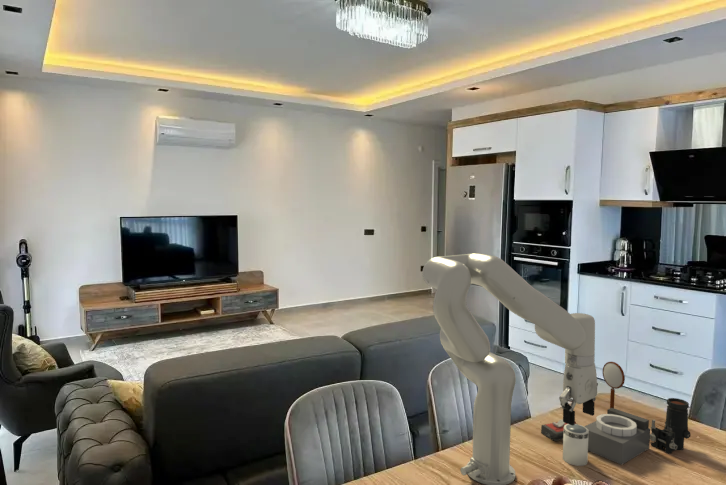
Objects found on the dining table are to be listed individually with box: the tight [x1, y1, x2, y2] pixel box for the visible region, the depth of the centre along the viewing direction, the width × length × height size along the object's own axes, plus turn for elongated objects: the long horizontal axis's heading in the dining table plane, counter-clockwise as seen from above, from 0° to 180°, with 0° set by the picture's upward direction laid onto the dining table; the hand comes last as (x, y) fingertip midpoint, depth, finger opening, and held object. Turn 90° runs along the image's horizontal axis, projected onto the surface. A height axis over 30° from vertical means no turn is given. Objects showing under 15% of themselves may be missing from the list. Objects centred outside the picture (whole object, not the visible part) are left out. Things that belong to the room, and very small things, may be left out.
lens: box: [562, 423, 589, 467], centre depth 139 cm, size 6×6×9 cm
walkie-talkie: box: [540, 418, 578, 442], centre depth 155 cm, size 9×4×20 cm
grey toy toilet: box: [583, 407, 651, 466], centre depth 146 cm, size 16×12×8 cm
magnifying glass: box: [602, 361, 626, 409], centre depth 163 cm, size 9×2×20 cm, turn 18°
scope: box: [650, 397, 692, 455], centre depth 146 cm, size 8×14×10 cm
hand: (578, 418), depth 139 cm, fingers open, 9 cm apart
